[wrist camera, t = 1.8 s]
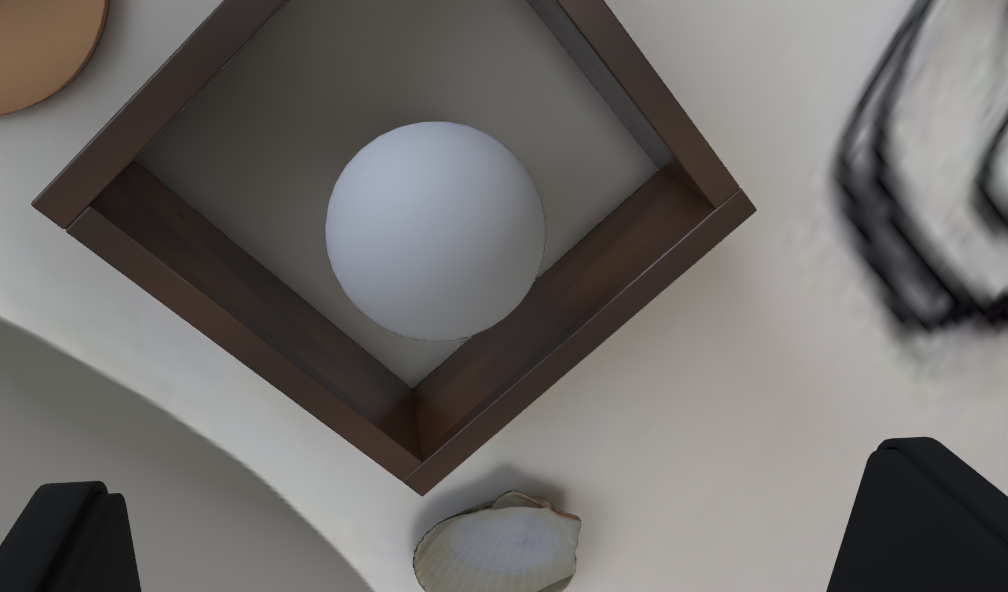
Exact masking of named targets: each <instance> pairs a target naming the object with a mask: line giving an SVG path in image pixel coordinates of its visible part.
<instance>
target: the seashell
mask: <svg viewBox="0 0 1008 592" xmlns="http://www.w3.org/2000/svg"><path fill="white" fill-rule="evenodd" d="M580 522H581V520H580V518H579V517H577V516H576V515H573V514H569V513H565V512H563V511H560V510H557V509H556V508H555V507H554V506H553V504H552V503H551V502H549V501H548V500H546V499H543V498H541V497H536V496H525V495H524V494H522V493H520V492H518V491H516V490H515V491H507V492H505V493H504V494H502V495H501V496H499V498H497V499H496V501H495V502H489V503H485V504H483V505H479V506H476V507H474V508H471V509H468V510H466V511H463V512H461V513H459V514H456V515H454V516H452V517H450V518H447V519H445V520H443V521H441V522H439V523H438V524H437V525H435V526H434V527H433V528H432V529H431V530H430V531H428V532H426V533H425V535H424V536H423V538H422V540H421V541H420V542H419V543H418V544H417V547H416V549H415V550H414V557H413V568H414V572H415V575H416V578H417V580H418V582H419V584H420V585H421V587H422V588H423V589H424V590H425V592H562V591H563V590H564V589H565V588H566V587H567V586H568V585H569V583H570V581H571V579H572V578H573V576H574V574H575V572H576V556H575V549H576V547H577V544H578V535H579V532H580V528H581V523H580Z"/></svg>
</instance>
